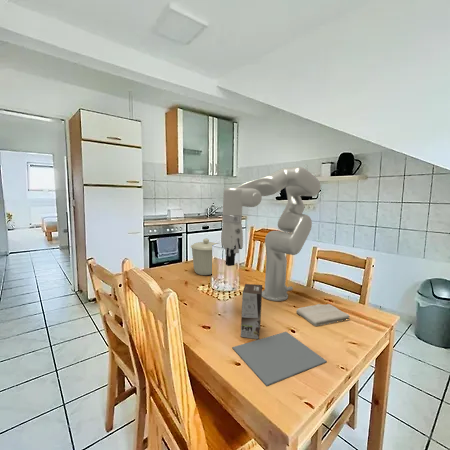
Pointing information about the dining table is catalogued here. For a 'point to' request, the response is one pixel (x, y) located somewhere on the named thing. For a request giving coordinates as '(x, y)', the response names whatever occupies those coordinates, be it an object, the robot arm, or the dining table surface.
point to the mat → (278, 357)
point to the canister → (202, 257)
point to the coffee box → (251, 311)
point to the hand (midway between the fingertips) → (230, 265)
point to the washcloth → (322, 314)
